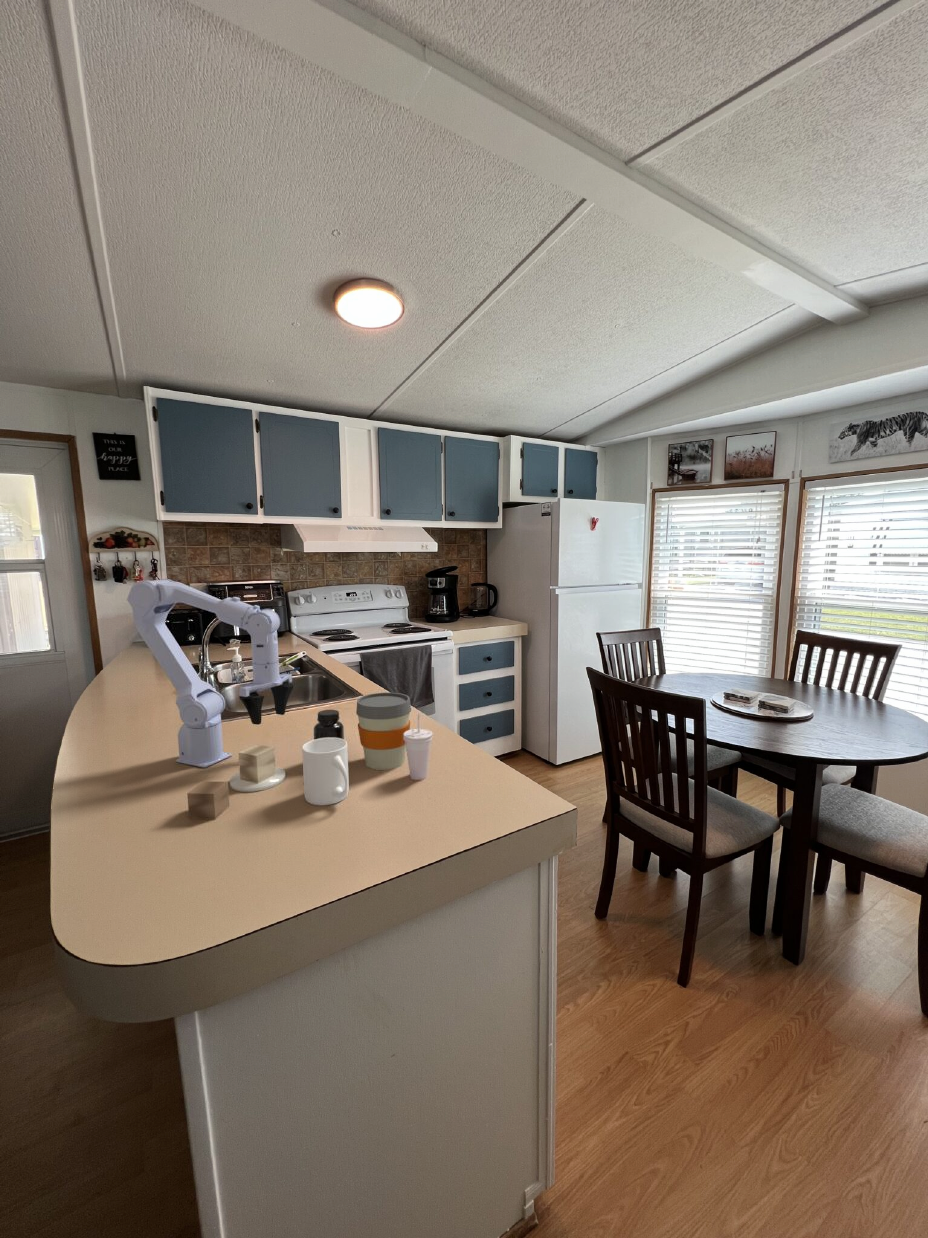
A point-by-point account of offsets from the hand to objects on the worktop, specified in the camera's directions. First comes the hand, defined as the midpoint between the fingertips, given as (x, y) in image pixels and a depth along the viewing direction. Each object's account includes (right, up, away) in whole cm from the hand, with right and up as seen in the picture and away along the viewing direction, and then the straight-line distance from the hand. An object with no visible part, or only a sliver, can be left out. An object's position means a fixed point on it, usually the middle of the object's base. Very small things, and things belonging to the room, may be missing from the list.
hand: (268, 718), depth 120 cm
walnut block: (-2, -13, -24) cm, 27 cm away
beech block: (+2, -10, -10) cm, 15 cm away
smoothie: (+36, -11, -9) cm, 39 cm away
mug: (+20, -12, -19) cm, 30 cm away
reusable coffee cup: (+27, -10, -1) cm, 29 cm away
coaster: (+2, -11, -10) cm, 15 cm away
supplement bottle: (+14, -10, -1) cm, 18 cm away
